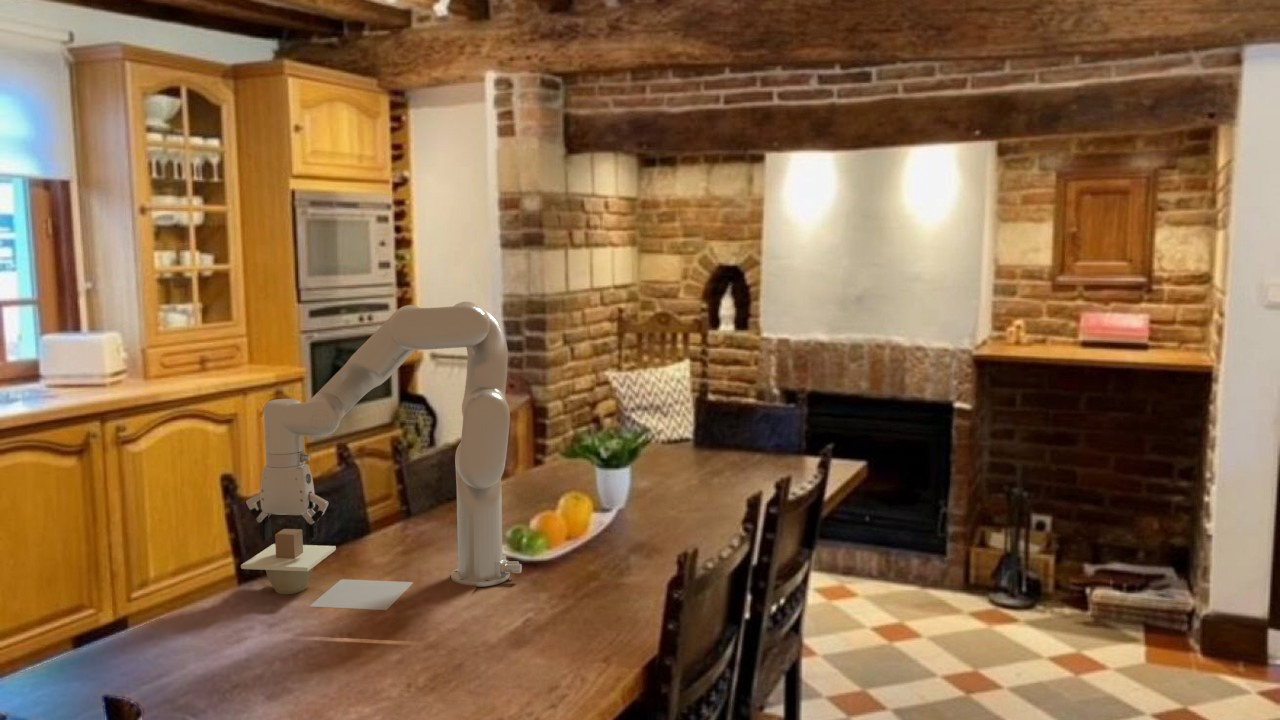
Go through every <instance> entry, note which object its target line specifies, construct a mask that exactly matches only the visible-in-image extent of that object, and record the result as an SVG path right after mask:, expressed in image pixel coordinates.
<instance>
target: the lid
mask: <svg viewBox="0 0 1280 720" xmlns="http://www.w3.org/2000/svg"><path fill="white" fill-rule="evenodd" d="M274 537H275V538H274V540H275V541H274V543H273V544H272V543H271V545H269V546H268V547H266V548H265V549H263V550H262V551H260V552H259V553H257V554H256V555H254V556H252V557H251V558H249V559H248V560H246V561H245V562H243V563H242V564H240V568H241V569H242V570H261V571H263V570H265V571H266V570H285V571H309V570H310V569H311V568H313V569H314V567H316V566H317V565H318V564H319V563H321V562H322V561H323V560H324V559H326V558H327V557H329V556H330V555H331V554H332V553H334V552H335V551H336V550H337V546H336V545H315V544H314V545H313V544H304V542H303V540H304V539H303V529H302V528H301V529H300V528H298V529H297V528H283V529H281V530H280V531H278V532H277V533H275V534H274Z"/></svg>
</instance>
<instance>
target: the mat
mask: <svg viewBox="0 0 1280 720" xmlns="http://www.w3.org/2000/svg"><path fill="white" fill-rule="evenodd" d="M413 584H414V582H413V581H393V580H392V581H391V580H369V579H368V580H367V579H345V578H343V579H340V580H339V581H337V582H336V583H335V584H333V585H332V587H331V588H329V589H328V590H326V591H325V592H324V593H323V594H322V595H321V596H320V597H318V598H317V599H316V600H315V601H314V602H312V603H311V604H310V605H308V606H309V608H331V609H332V608H333V609H349V610H350V609H351V610H352V609H354V610H373V611H375V610H376V611H378V610H379V611H387V610H388V609H389V608H390V607H392V605H393V604H394V603H395V602H396V601H397V600H398V599H400V597H401V596H402V595H403V594H405V592H406V591H407V590H408V589H409V587H411V586H412V585H413Z"/></svg>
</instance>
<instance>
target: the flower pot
mask: <svg viewBox="0 0 1280 720" xmlns="http://www.w3.org/2000/svg"><path fill="white" fill-rule="evenodd" d="M313 571H314V567H313V568H311V569H310V570H309V571H285V570H265V572H266V576H267V578H268V580H269V582H270V584H271V586H272V587H273V590H274V591H275V592H276V593H277V594H280V595H293V594H297V593H298V594H299V593H301V592H303V591H304V590H305V589H306V587H307V585H308V583H309V582H310V579H311V577H312V574H313Z"/></svg>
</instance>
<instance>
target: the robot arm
mask: <svg viewBox="0 0 1280 720" xmlns="http://www.w3.org/2000/svg"><path fill="white" fill-rule="evenodd" d="M456 348H457V349H458V348H459V349H460V348H466V352H467V360H466V361H467V364H466V379H465V386H464V387H465V388H464V393H463V398H462V399H463V400H462V404H461V414H462V428H461V436H460V437H461V438H460V439H461V440H460V443H459V444H458V446H457V447H456V451H455V456H454V462H455V463H454V464H455V480H456V518H457V519H456V520H457V521H456V523H457V526H456V529H457V565H458V567H457V568H455V569H454V570H453V571H452V572H451V573H450V577H451V580H452V582H454V583H457V584H460V585H464V586H465V585H466V586H476V588H481V587H482V588H483V587H484V588H485V587H490V586H495V585H496V586H497V585H499V584H502V583H504V582H506V581H508V579H509V578H510V577H511V576H510V573H513V574H521V573H522V571H523V570H522V569H523V568H522V567H523V566H522V565H523V564H522V563H520V562H519V561H513V560H512V561H509V559H507V554H506V553H505V554H503V515H502V514H503V513H502V512H503V511H502V509H503V508H502V507H503V505H502V504H503V501H502V500H503V499H502V498H503V497H502V495H503V494H502V477H503V475H504V473H505V472H504V471H505V467H506V460H507V453H508V442H509V433H510V422H511V412H510V411H511V410H510V407H509V403H508V401H507V400H506V398H507V397H506V393H507V391H506V389H507V379H508V378H507V377H508V359H509V352H508V351H509V350H508V343H507V339H506V336H505V333H504V331H503V328H502V327H501V326H500V323H499V322H498V320H497V319H496V318H495V317H494V316H493V315H492V314H491V313H490V312H488V311H487V310H486V309H485V308H483V307H482V306H481V305H479V304H478V303H476V302H472V301H461V302H458V303H456V304H455V305H453V306H441V307H420V306H417V305H414V304H407V305H403V306H402V307H400V308H399V309H397V310H396V311H394V313H393V314H391V316H389V318H388V319H386V321H384V323H382V324H381V326H380V327H379V328H378V329H377V330H376V331H375V332H374V333H373V334H372V335H371V336H370V337H369V338H368V339H367V340H366V341H365V342H364V343H363V344H362V345H361V346H360V347H359V348H358V349H357V350H356V351H355V352H354V353H353V354H352V355H351V356H349V357H350V358H348V360H347V361H346V363H345V364H344V365H343V366H342V367H341V368H340V369H339V370H338V371H337V372H336V373H335V374H334V375H333V376H332V377H331V378H330V379H329V380H328V381H327V382H326V383H325V384H324V385H323V386H322V387H321V388H320V390H318V392H316V393H315V395H313V396H312V397H311V399H309V401H307V402H301V401H300V400H298V399H295V398H277V399H271V400H269V401H267V402H266V403H265V404H264V407H263V421H264V423H263V424H264V445H265V465H264V466H263V469H262V473H261V479H260V491H259V492H260V493H258V494H256V495H255V496H252V497H250V498H248V499H246V501H245V503H246V505H247V507H248V509H249V510H250V514H251V515H253V517H254V518H255V519H256V521H257V523H259V535H260V537H261V539H260V540H261V542H266V541H267V540H269V539H271V538H272V535H273V533H272V519H271V518H269V517H270V516H271V515H278V516H279V515H281V516H282V515H286V516H302V517H303V518H304V520H305V521H306V522H307V523H306V524H305V541H306V543H307V544H311V543H312V542H314V541H315V540H316V539H317V537H318V521H319V520H320V519H321V518H322V517H323V516H324V514H325V513H326V510H327V508H328V506H329V501H328V500H326V499H324V498H322V497H321V496H319V495H317V494H315V493H316V492H315V488H314V487H315V486H314V479H313V476H312V471H311V468H310V467H311V466H310V464H309V463H307V462H310V461H311V458H312V456H311V454H307V453H306V450H305V440H304V439H305V437H304V436H311V437H318V438H319V437H328V436H329V435H332V434H333V433H334V432H335V431H337V429H338V428H339V427H340V424H341V421H342V419H343V418H344V416H345V415H346V414H348V413H349V411H351V409H353V407H354V406H356V404H357V403H358V402H359V401H360V400H361V399H362V398H363V397H364V396H366V394H368V393H369V392H371V390H373V389H374V388H377V387H379V386H381V385H383V383H385V382H386V381H387V380H388V379H389V378H390V377H392V375H393V374H394V373H395V372H396V371H397V370H398V369H399V368H400V367H401V365H403V364H404V363H405V361H406V360H408V359H409V358H410V357H411V355H413V354H414V353H415V352H416V351H420V350H421V351H423V350H424V351H425V350H442V349H456ZM259 501H260V502H259ZM257 502H259V503H260V507H259V506H258V504H257ZM316 505H317V506H318V509H317V511H315V510H314V509H315V508H316Z"/></svg>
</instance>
